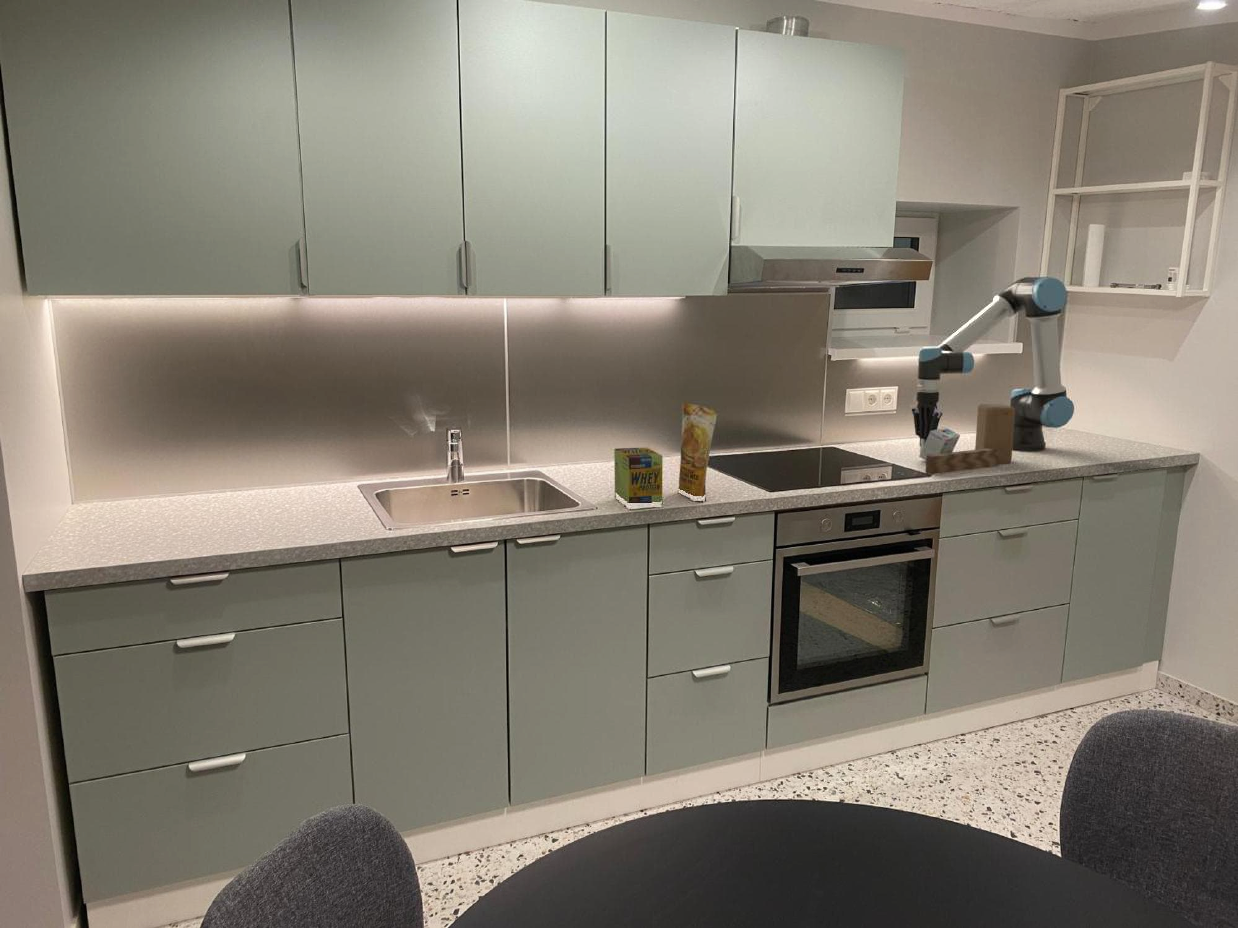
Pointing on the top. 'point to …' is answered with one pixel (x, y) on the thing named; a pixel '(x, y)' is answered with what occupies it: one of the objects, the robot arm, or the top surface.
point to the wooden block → (996, 429)
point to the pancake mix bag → (695, 447)
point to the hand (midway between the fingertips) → (924, 456)
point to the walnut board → (962, 460)
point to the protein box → (638, 475)
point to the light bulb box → (939, 442)
